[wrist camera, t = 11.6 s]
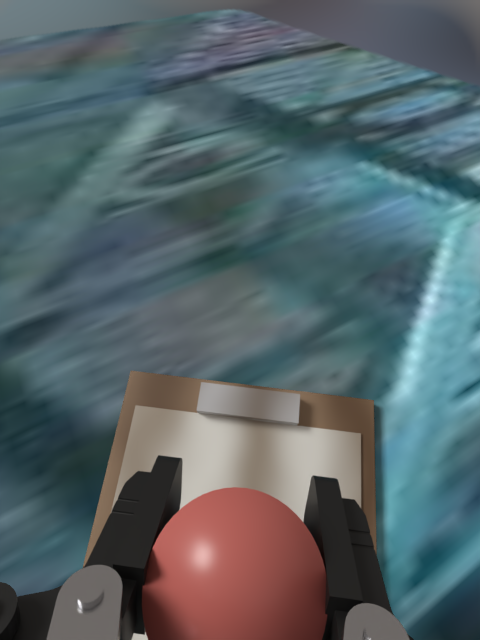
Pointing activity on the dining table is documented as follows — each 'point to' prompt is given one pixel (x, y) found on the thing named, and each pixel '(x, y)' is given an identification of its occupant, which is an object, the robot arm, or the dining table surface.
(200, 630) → the grey and red cylinder
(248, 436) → the clipboard
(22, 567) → the dining table surface
